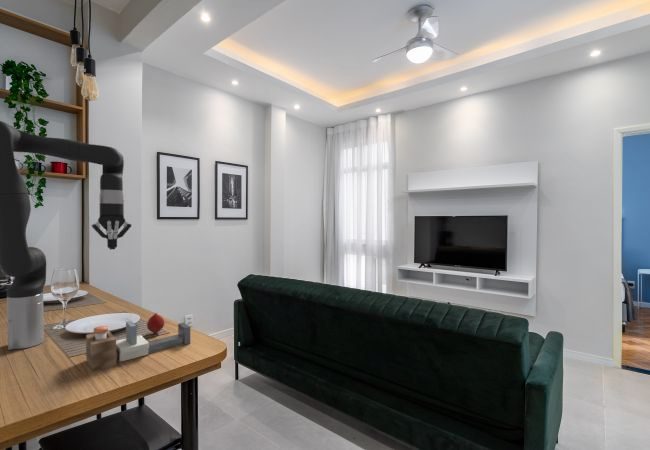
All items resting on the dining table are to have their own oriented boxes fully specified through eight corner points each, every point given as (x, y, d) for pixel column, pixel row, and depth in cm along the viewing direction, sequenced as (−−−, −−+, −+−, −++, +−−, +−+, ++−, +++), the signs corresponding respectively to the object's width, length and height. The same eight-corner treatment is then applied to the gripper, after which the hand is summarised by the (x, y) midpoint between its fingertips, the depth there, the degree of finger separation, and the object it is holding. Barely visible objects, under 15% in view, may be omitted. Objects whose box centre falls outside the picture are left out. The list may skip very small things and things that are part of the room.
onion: (143, 334, 125) (143, 313, 125) (157, 329, 130) (157, 309, 130) (153, 337, 122) (153, 316, 122) (167, 332, 128) (167, 311, 127)
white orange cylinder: (95, 357, 99) (94, 330, 99) (92, 353, 102) (92, 327, 101) (109, 353, 102) (109, 328, 101) (106, 350, 104) (106, 325, 104)
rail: (114, 363, 102) (114, 343, 101) (110, 356, 106) (110, 338, 106) (190, 343, 117) (190, 326, 117) (183, 338, 122) (183, 322, 122)
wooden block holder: (92, 371, 96) (92, 344, 96) (86, 360, 103) (86, 334, 103) (116, 365, 100) (116, 339, 100) (109, 354, 107) (108, 330, 107)
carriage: (120, 362, 101) (120, 330, 101) (113, 353, 108) (113, 322, 107) (149, 355, 107) (149, 324, 106) (141, 346, 113) (140, 317, 113)
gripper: (129, 203, 131) (129, 247, 131) (88, 202, 121) (88, 249, 122) (134, 203, 125) (134, 249, 126) (92, 202, 116) (92, 251, 117)
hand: (112, 249), depth 124 cm, fingers closed
